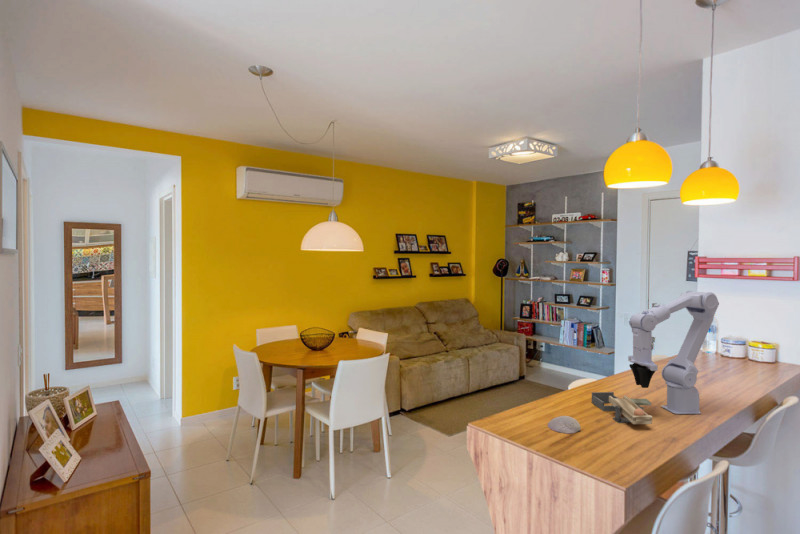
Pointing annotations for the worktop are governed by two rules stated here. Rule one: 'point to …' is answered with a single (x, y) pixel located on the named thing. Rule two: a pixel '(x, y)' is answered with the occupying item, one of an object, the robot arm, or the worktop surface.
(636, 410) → the ball
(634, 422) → the lever
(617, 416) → the pivot stand
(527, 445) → the worktop surface
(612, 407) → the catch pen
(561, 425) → the seashell
